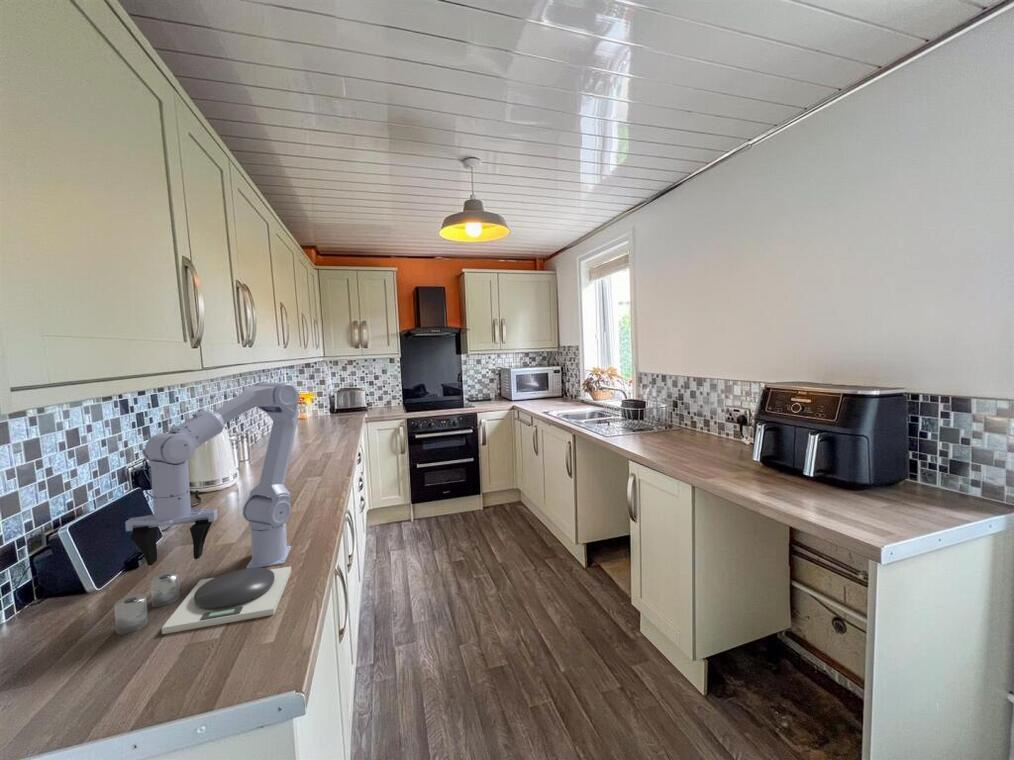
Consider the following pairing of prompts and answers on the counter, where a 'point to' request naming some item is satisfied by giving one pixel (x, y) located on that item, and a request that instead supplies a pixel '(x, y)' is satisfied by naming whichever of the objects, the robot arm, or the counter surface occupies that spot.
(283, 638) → the counter surface
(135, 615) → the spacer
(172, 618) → the scale base
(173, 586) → the cylinder
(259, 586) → the scale pan
